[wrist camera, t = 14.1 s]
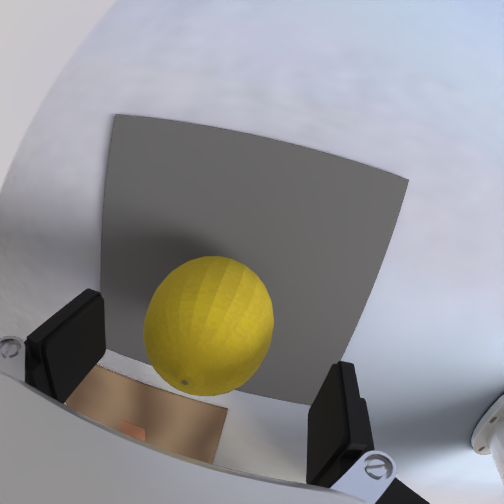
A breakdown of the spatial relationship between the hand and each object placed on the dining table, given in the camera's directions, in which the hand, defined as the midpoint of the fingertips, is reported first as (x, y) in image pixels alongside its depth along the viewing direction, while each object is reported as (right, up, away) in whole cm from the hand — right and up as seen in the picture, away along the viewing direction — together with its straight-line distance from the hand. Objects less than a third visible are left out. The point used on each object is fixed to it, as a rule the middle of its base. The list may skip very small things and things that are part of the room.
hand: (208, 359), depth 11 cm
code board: (-10, -14, +14) cm, 22 cm away
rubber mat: (0, +3, +7) cm, 7 cm away
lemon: (0, +2, +6) cm, 7 cm away
